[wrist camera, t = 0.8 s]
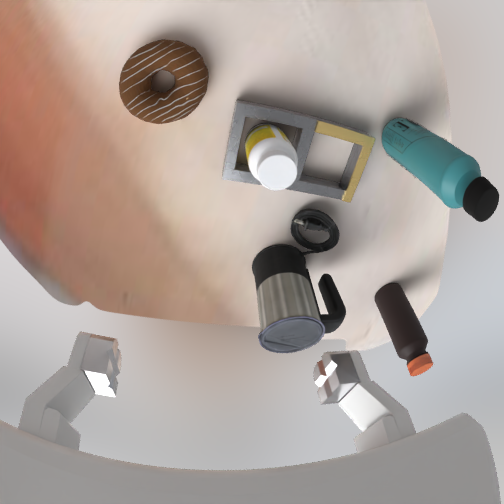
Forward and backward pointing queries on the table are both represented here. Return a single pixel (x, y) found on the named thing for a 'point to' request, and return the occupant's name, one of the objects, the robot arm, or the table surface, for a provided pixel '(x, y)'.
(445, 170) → the beverage bottle
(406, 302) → the vinegar
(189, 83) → the donut
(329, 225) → the milk frother
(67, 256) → the table surface
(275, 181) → the supplement bottle
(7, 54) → the table surface
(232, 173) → the grey compartment tray
